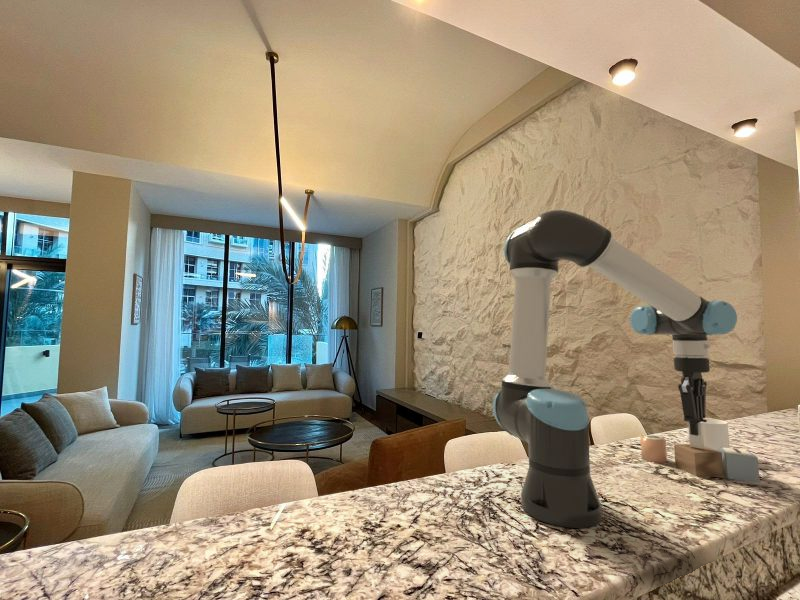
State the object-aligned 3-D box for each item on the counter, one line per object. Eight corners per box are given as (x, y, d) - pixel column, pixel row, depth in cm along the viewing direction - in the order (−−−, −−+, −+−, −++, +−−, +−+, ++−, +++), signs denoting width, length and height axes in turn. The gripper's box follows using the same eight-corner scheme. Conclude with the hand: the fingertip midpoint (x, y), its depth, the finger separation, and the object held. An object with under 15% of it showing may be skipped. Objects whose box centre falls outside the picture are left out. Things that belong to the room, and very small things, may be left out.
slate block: (728, 478, 94) (726, 451, 94) (719, 470, 99) (718, 445, 100) (759, 482, 91) (757, 455, 92) (749, 474, 96) (747, 448, 97)
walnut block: (696, 477, 95) (694, 452, 95) (675, 467, 102) (674, 444, 102) (723, 476, 95) (721, 452, 95) (701, 467, 102) (699, 444, 102)
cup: (688, 453, 113) (686, 419, 114) (708, 448, 118) (706, 415, 119) (722, 462, 105) (719, 425, 106) (742, 455, 111) (739, 420, 112)
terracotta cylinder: (647, 462, 105) (646, 438, 106) (637, 455, 111) (636, 433, 111) (671, 464, 104) (669, 439, 104) (660, 457, 110) (659, 434, 110)
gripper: (699, 358, 94) (705, 455, 92) (716, 356, 102) (723, 446, 100) (664, 356, 100) (670, 448, 98) (683, 355, 108) (689, 439, 106)
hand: (697, 447), depth 99 cm, fingers closed
